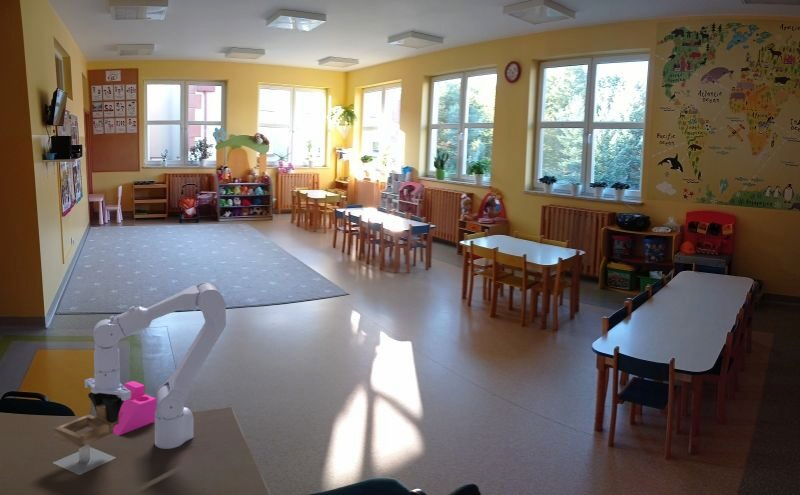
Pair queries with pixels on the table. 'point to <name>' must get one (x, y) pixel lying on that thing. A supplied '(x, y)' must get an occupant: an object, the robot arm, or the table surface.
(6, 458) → the table surface
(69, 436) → the walnut link
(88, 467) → the peg stand
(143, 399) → the bracket
